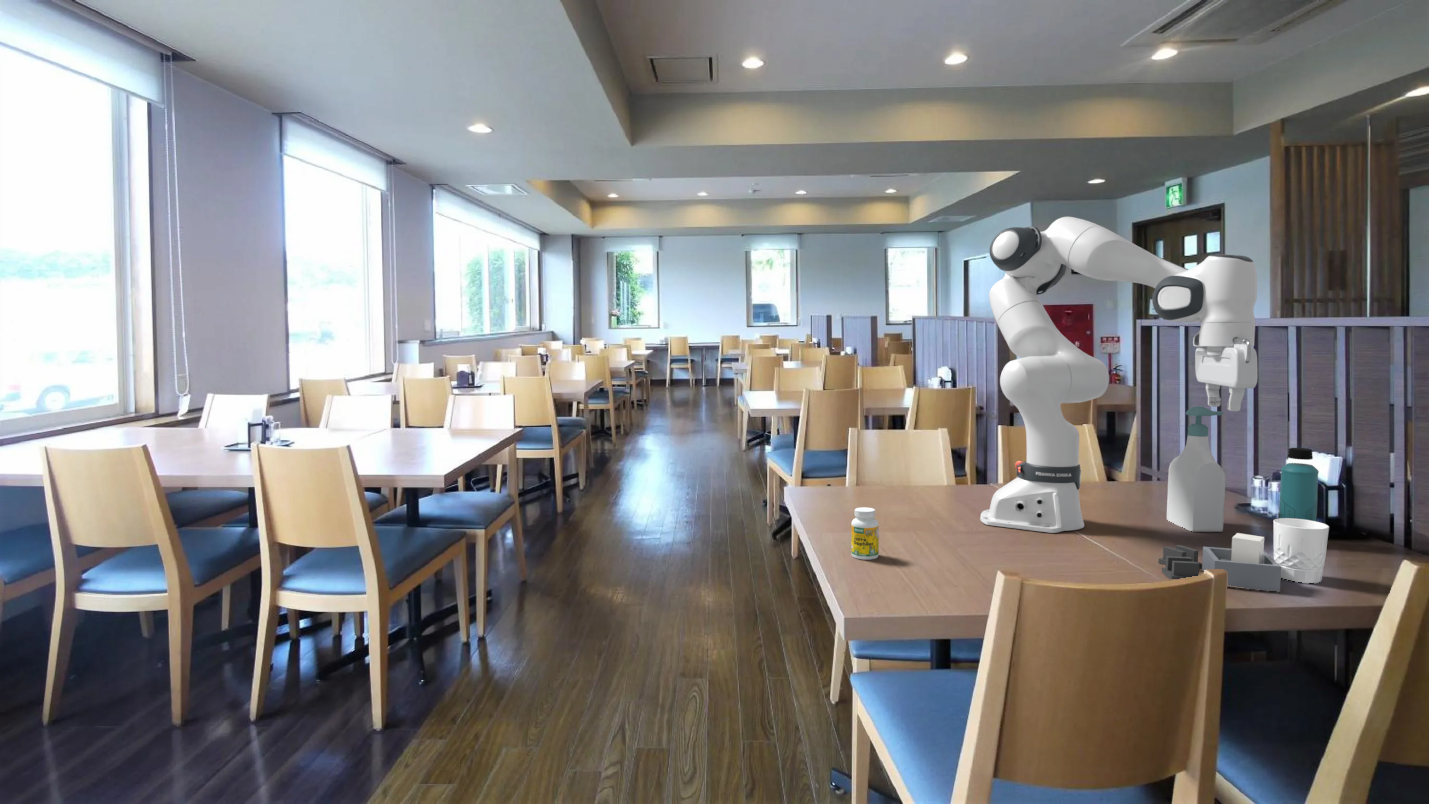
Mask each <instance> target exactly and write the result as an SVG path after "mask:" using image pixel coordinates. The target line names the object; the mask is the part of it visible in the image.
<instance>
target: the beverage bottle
mask: <svg viewBox="0 0 1429 804" xmlns="http://www.w3.org/2000/svg"><path fill="white" fill-rule="evenodd" d="M1287 458H1288V459H1293V460H1305V461H1306V460H1307V461H1308V460H1313V459H1314V456H1313V449H1310V448H1305V447H1289V448H1288V452H1287ZM1318 483H1319V470H1318V469H1317V467H1315V465H1312V464H1309V463H1303V462H1302V463H1299V462H1289V463H1286V464H1284V465H1283V466H1282V467H1281V468H1280V488H1279V500H1278V512H1277V513H1278V514H1277V516H1278V519H1280V518H1293V519H1304V520H1310V521H1316V522H1318V515H1317V514H1318V513H1319V512H1318V509H1319V507H1318V505H1319V504H1318V487H1319V486H1318V485H1319V484H1318Z"/></svg>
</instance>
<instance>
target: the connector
mask: <svg viewBox="0 0 1429 804" xmlns="http://www.w3.org/2000/svg"><path fill="white" fill-rule="evenodd" d="M1264 548H1265V536H1261V535H1259V536H1258V535H1253V534H1247V533H1240V532H1236V533H1235V535H1233V536H1232V537H1231V549H1232V553H1231V560H1226V559H1220V560H1225V561H1236V562H1248V563H1259V564H1263V551H1264V550H1265V549H1264ZM1264 552H1265V551H1264Z"/></svg>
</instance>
